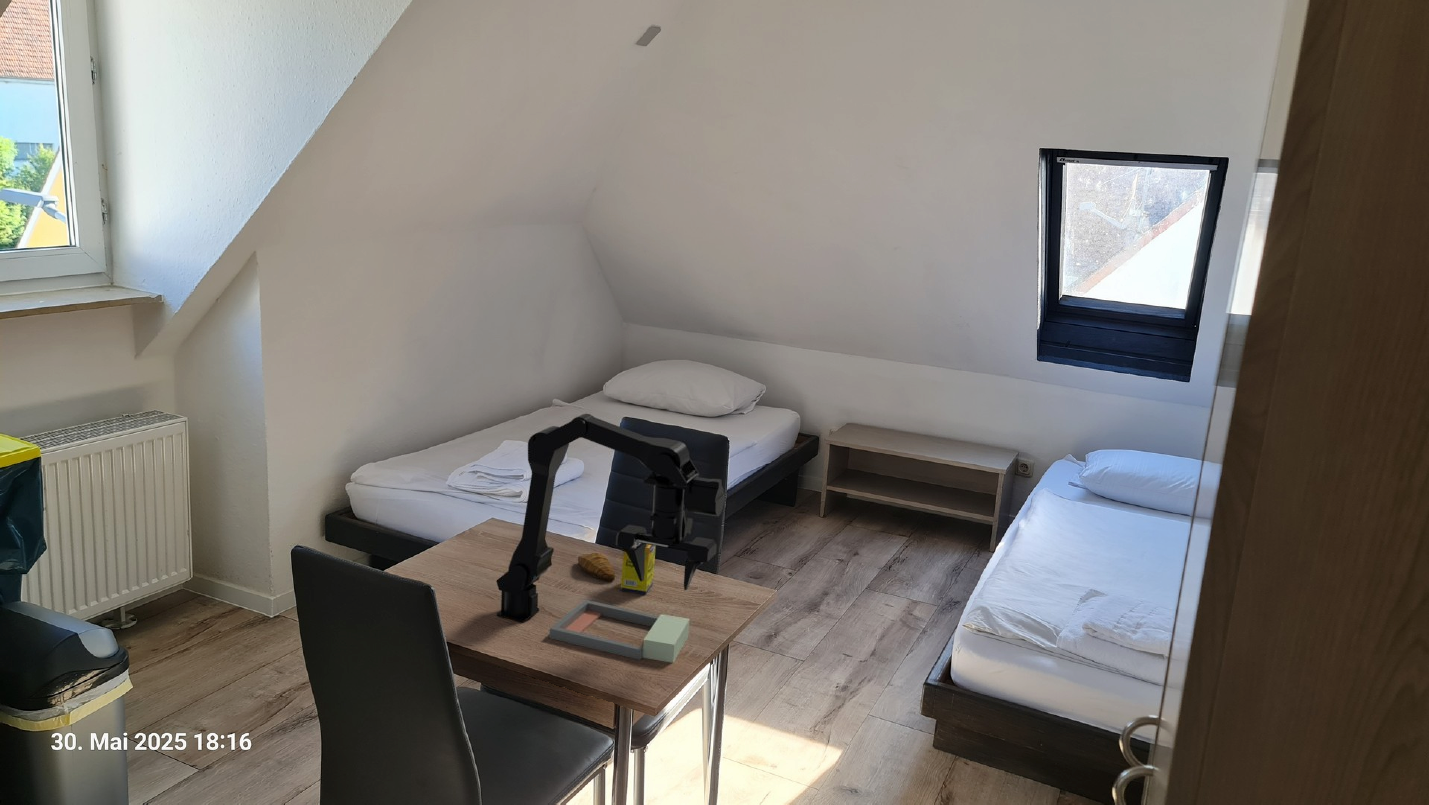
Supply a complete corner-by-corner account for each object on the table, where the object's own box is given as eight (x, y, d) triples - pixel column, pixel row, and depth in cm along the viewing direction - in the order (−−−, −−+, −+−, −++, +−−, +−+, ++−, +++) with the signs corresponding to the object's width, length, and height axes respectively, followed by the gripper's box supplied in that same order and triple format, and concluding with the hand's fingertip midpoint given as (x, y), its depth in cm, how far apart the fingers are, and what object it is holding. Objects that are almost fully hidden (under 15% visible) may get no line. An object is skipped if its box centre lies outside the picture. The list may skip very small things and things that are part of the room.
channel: (549, 638, 192) (549, 628, 192) (584, 608, 206) (585, 599, 206) (640, 660, 186) (640, 650, 186) (670, 628, 200) (670, 619, 200)
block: (642, 659, 187) (643, 639, 187) (659, 632, 199) (660, 614, 198) (673, 664, 186) (674, 644, 185) (688, 637, 198) (689, 619, 197)
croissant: (566, 566, 228) (567, 545, 227) (591, 560, 233) (592, 540, 232) (599, 586, 218) (600, 565, 217) (624, 580, 223) (625, 559, 222)
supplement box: (646, 595, 216) (649, 548, 213) (620, 591, 217) (623, 544, 214) (653, 585, 221) (656, 539, 219) (627, 581, 222) (630, 535, 220)
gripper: (728, 504, 192) (722, 579, 195) (639, 489, 198) (636, 562, 201) (709, 520, 181) (703, 600, 185) (616, 504, 187) (613, 581, 190)
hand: (663, 585), depth 190 cm, fingers open, 9 cm apart
